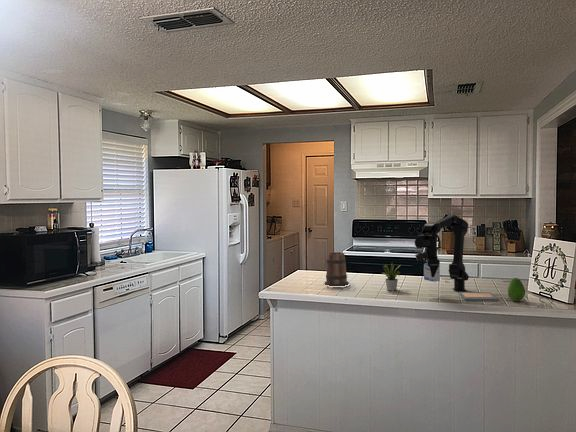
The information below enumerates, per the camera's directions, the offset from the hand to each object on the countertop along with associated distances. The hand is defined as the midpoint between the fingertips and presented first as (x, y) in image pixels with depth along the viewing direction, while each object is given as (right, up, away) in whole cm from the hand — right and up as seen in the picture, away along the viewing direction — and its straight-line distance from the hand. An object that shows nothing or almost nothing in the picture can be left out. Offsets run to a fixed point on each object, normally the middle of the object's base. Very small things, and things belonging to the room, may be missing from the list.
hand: (431, 275), depth 263 cm
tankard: (-46, -11, +42) cm, 63 cm away
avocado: (+38, -11, -16) cm, 43 cm away
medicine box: (0, -3, 0) cm, 3 cm away
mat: (+23, -11, -5) cm, 26 cm away
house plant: (-19, -11, +20) cm, 30 cm away
